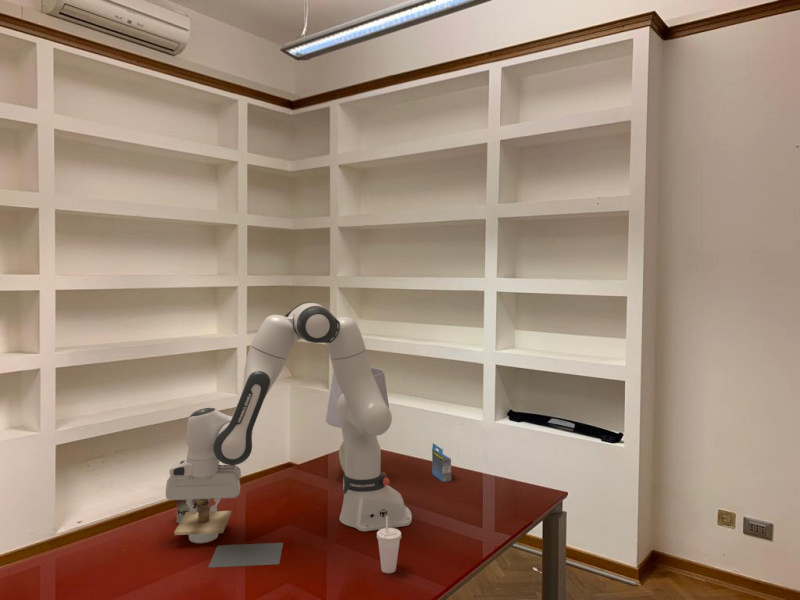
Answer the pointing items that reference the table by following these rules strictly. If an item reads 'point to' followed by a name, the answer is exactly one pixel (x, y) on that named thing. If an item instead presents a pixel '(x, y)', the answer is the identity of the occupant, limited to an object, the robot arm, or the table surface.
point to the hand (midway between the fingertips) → (203, 512)
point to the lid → (203, 522)
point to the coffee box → (184, 508)
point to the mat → (246, 555)
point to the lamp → (335, 393)
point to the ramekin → (202, 537)
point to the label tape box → (441, 464)
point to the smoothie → (388, 547)
